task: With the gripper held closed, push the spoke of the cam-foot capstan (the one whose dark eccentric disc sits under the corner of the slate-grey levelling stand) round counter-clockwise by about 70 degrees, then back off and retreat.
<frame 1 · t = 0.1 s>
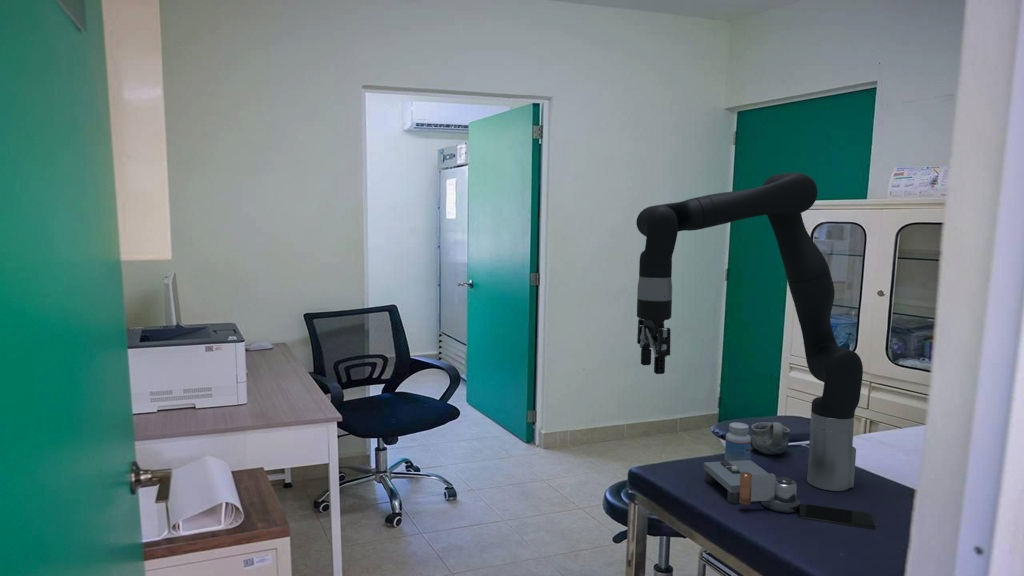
hand: (652, 369, 150), 29 cm above the table, fingers open, 8 cm apart
stand: (740, 489, 156), on the table
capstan: (767, 488, 147), point 4 cm above the table, hinge at 0.0°
smartphone: (834, 518, 143), on the table
pill bottle: (737, 469, 170), on the table
mug: (771, 455, 180), on the table
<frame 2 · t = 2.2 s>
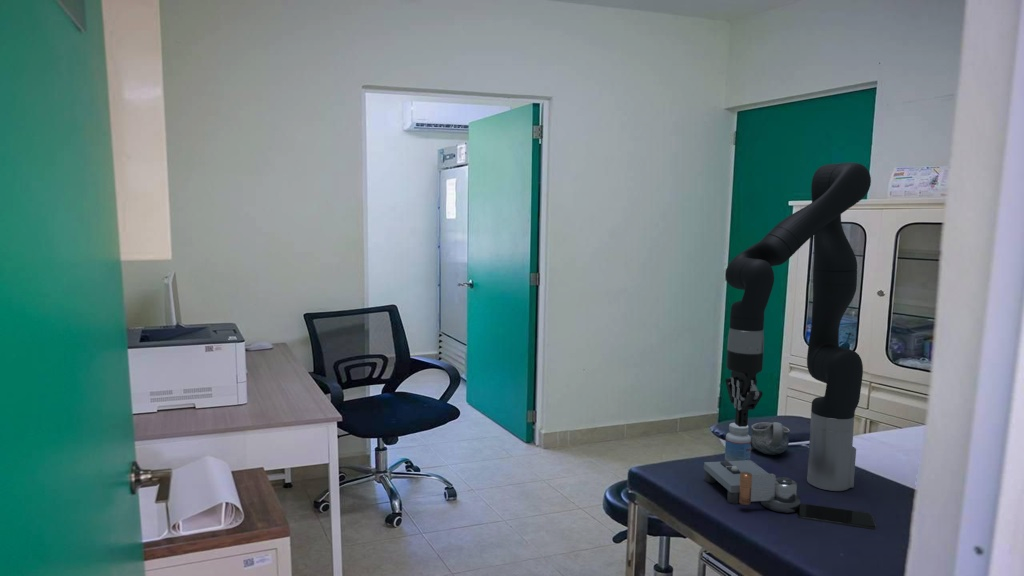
hand: (741, 425, 150), 17 cm above the table, fingers closed
nothing on the table moved.
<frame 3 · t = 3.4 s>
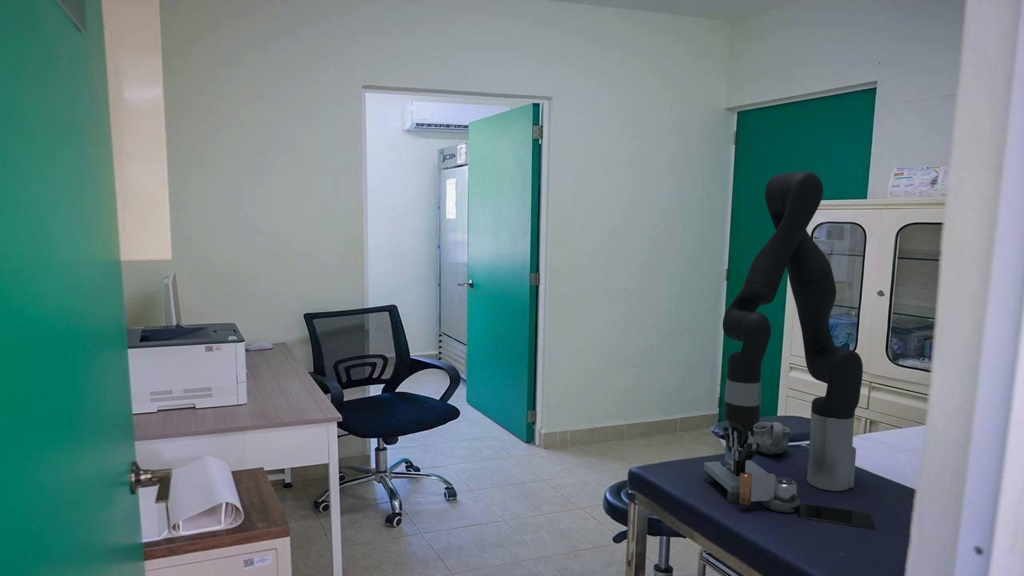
hand: (738, 475, 151), 6 cm above the table, fingers closed
nothing on the table moved.
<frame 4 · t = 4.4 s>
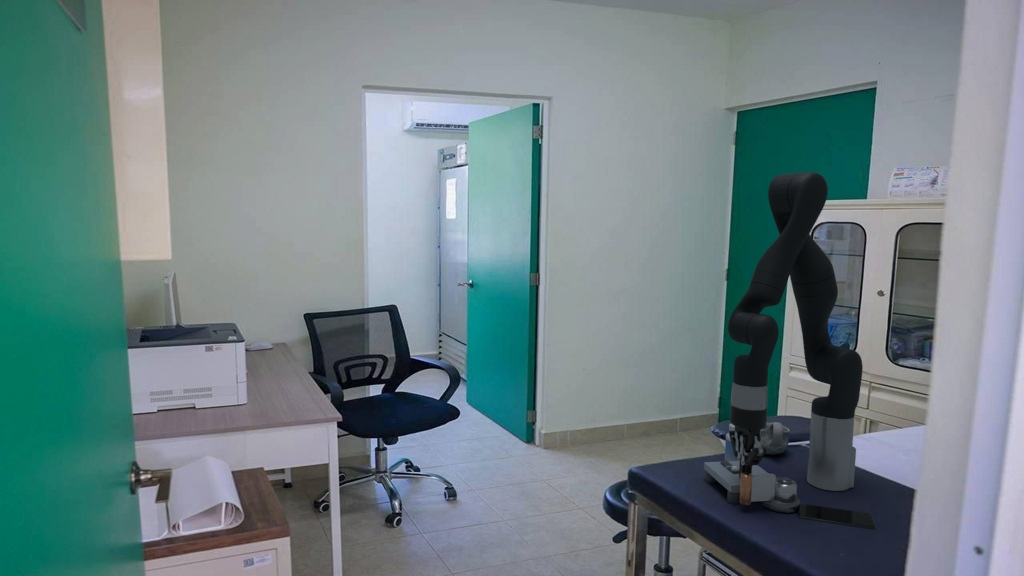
hand: (744, 480, 148), 6 cm above the table, fingers closed
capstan: (767, 488, 147), point 4 cm above the table, hinge at 0.8°, touching gripper
everything else where it was.
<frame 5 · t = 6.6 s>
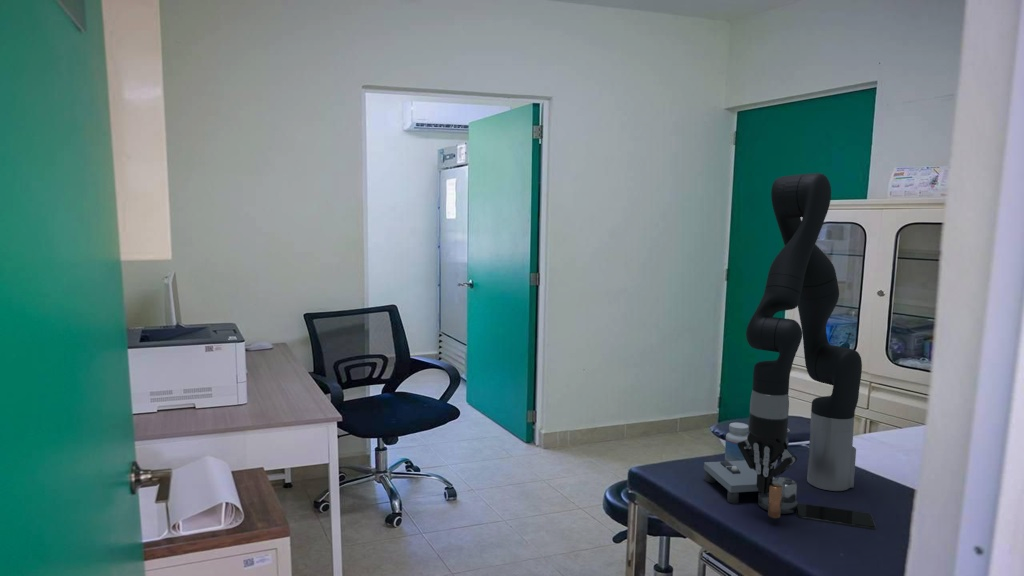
hand: (763, 491, 142), 6 cm above the table, fingers closed
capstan: (775, 493, 144), point 4 cm above the table, hinge at 48.1°, touching gripper
everything else where it was.
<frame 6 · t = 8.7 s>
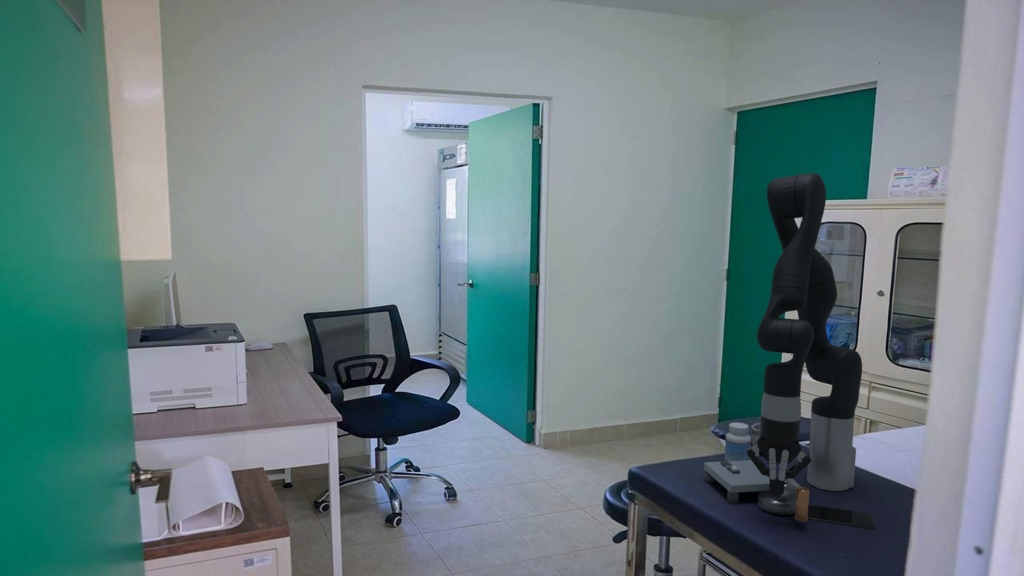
hand: (775, 495, 140), 6 cm above the table, fingers closed
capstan: (784, 495, 143), point 4 cm above the table, hinge at 81.7°
everything else where it was.
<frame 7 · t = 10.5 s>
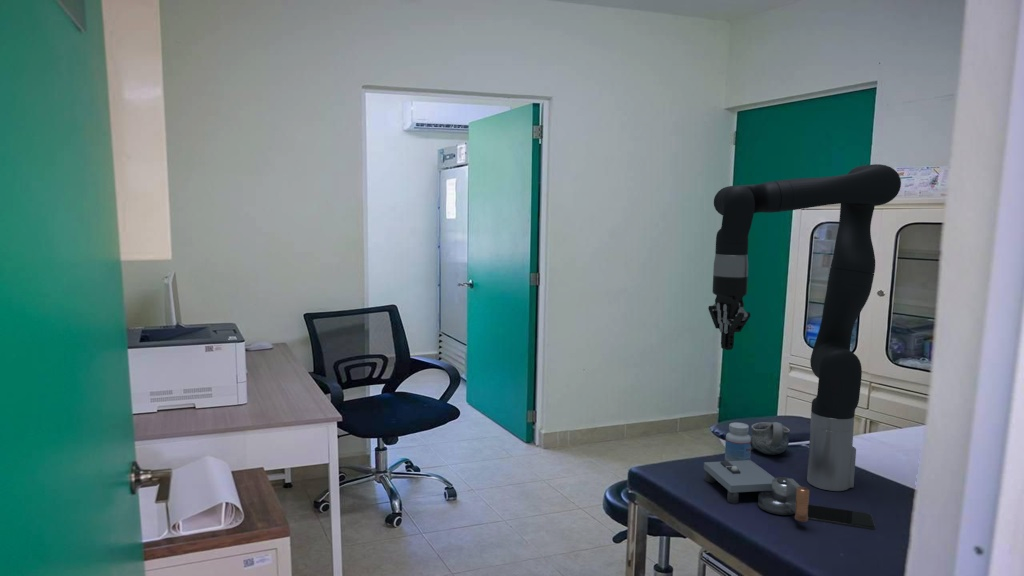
hand: (726, 348, 155), 33 cm above the table, fingers closed
nothing on the table moved.
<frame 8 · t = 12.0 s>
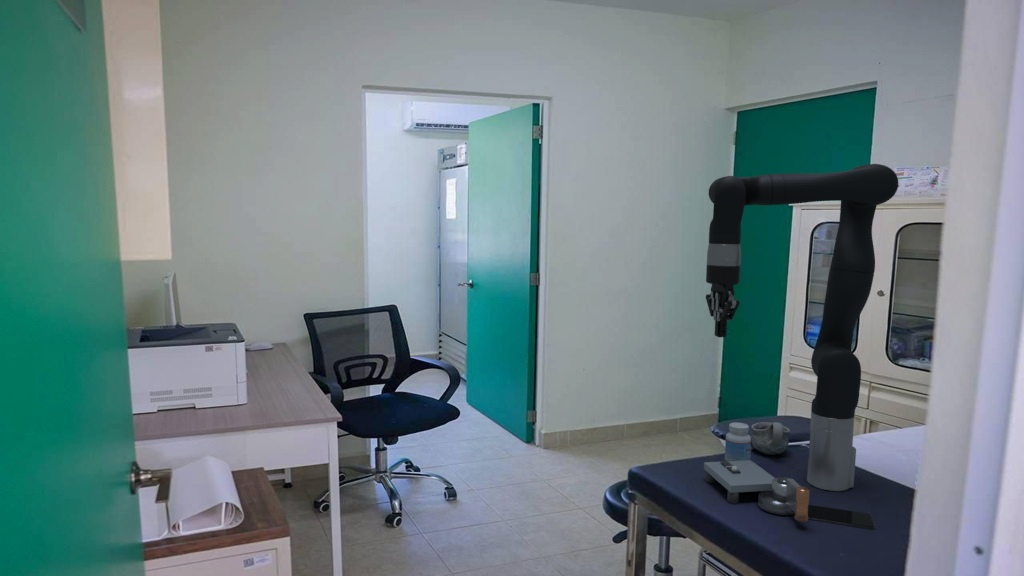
hand: (720, 336, 158), 35 cm above the table, fingers closed
nothing on the table moved.
at the end: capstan at +82° (first picture: +0°) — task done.
